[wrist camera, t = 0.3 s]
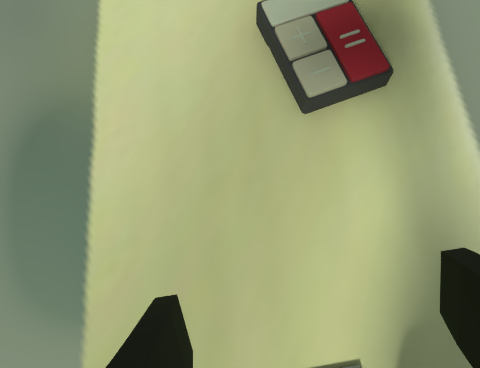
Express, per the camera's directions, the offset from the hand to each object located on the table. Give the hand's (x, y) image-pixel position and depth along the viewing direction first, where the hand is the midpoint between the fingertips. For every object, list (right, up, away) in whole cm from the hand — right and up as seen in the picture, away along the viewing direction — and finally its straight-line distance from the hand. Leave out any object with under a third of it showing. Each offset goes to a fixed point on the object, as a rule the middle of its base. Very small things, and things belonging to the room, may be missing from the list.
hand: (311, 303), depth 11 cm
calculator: (+8, +19, +41) cm, 46 cm away
